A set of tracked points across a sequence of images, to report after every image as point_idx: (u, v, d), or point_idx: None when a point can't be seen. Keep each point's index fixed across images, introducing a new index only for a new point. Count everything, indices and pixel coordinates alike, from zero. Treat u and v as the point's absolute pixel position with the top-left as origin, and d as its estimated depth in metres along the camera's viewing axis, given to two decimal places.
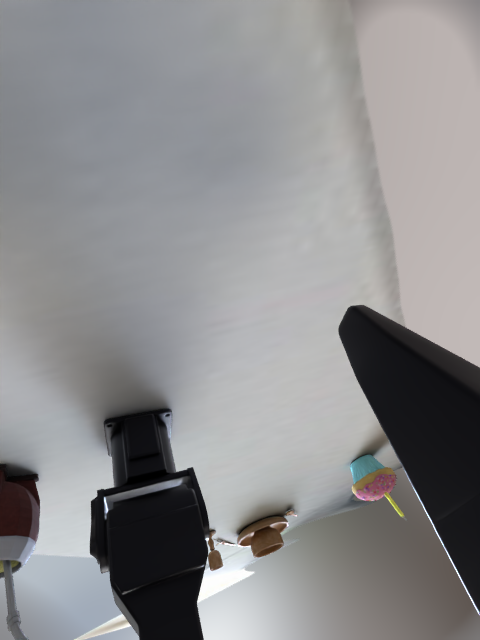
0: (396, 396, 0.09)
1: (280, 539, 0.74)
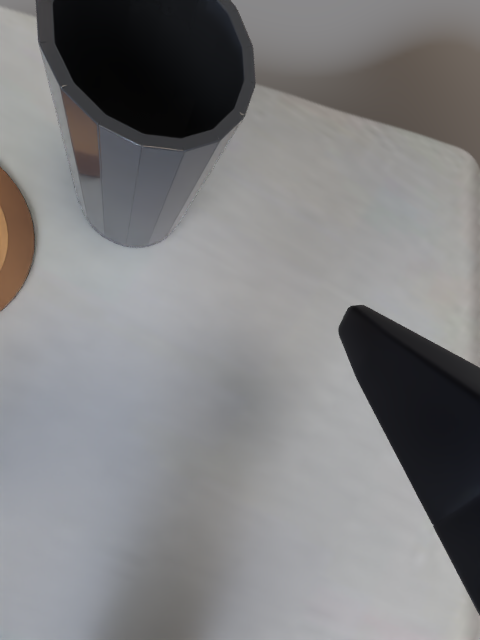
0: (396, 396, 0.09)
1: None
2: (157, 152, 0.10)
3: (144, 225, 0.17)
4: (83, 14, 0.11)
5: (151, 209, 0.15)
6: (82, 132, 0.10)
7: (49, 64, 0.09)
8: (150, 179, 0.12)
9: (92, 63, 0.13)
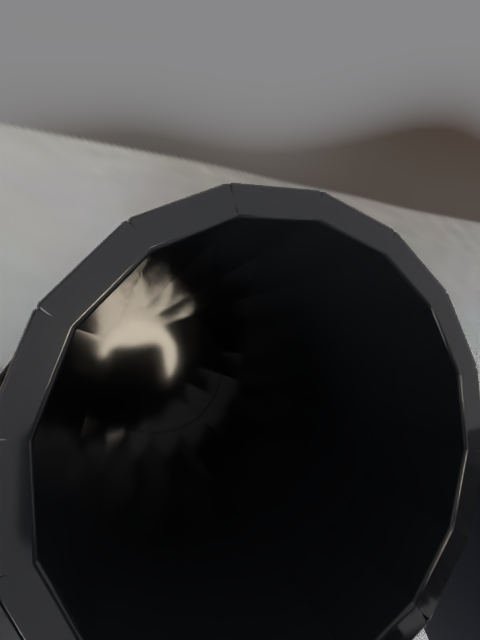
0: None
1: None
2: None
3: None
4: (108, 311, 0.05)
5: None
6: None
7: None
8: None
9: (116, 311, 0.07)
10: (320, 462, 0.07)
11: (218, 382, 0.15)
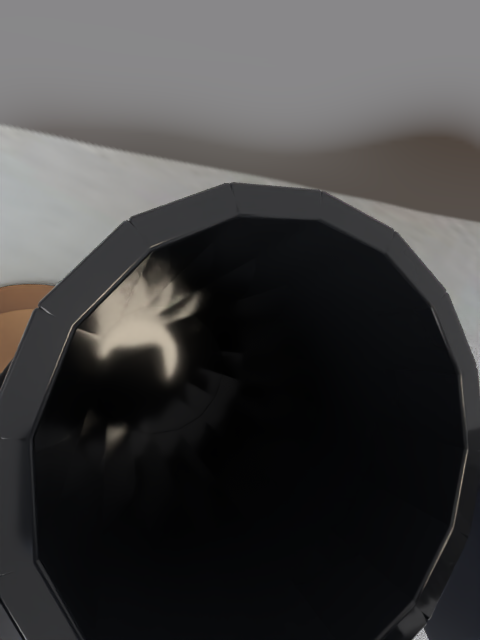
0: None
1: None
2: None
3: None
4: (107, 311, 0.05)
5: None
6: None
7: None
8: None
9: (117, 311, 0.07)
10: (320, 462, 0.07)
11: (218, 382, 0.15)
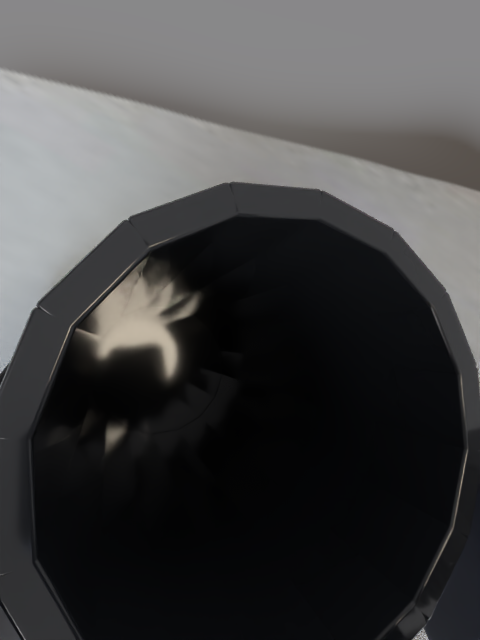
0: None
1: None
2: None
3: None
4: (107, 310, 0.05)
5: None
6: None
7: None
8: None
9: (116, 311, 0.07)
10: (320, 462, 0.07)
11: (218, 382, 0.15)
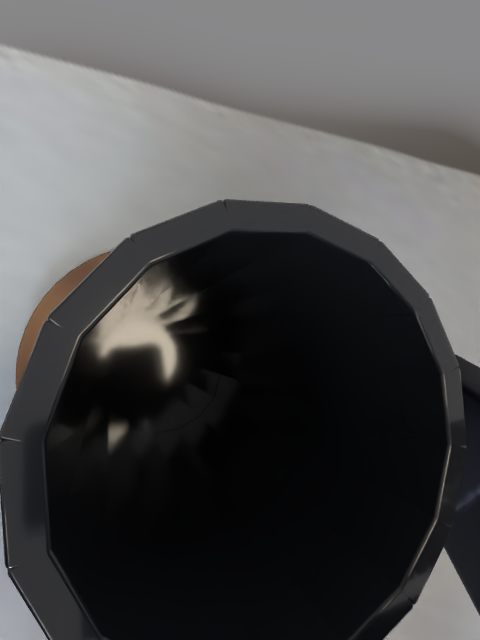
0: None
1: None
2: None
3: None
4: (109, 318, 0.05)
5: None
6: None
7: None
8: None
9: (118, 316, 0.07)
10: (315, 458, 0.08)
11: (217, 381, 0.16)
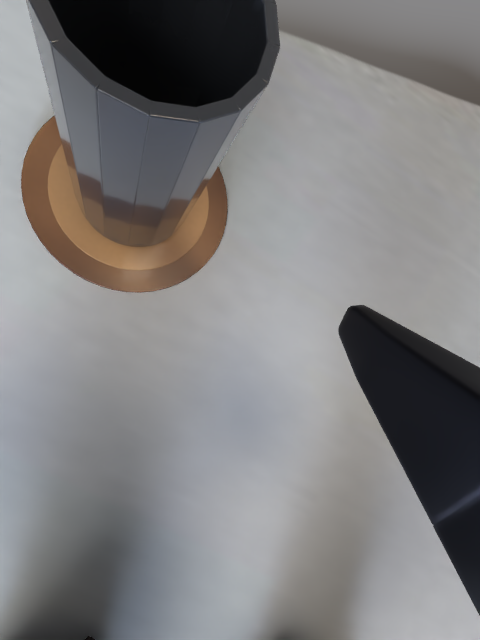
0: (396, 396, 0.09)
1: None
2: (168, 123, 0.08)
3: (148, 220, 0.15)
4: None
5: (157, 200, 0.13)
6: (78, 103, 0.09)
7: (36, 14, 0.07)
8: (157, 161, 0.10)
9: (89, 34, 0.11)
10: None
11: None
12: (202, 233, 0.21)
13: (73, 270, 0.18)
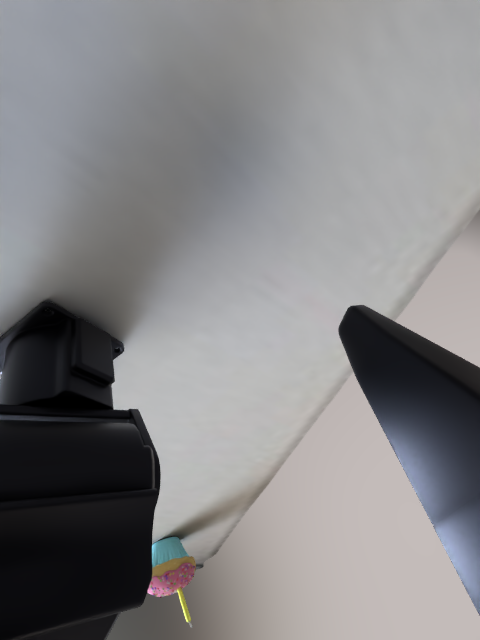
0: (396, 396, 0.09)
1: None
2: None
3: None
4: None
5: None
6: None
7: None
8: None
9: None
10: None
11: None
12: None
13: None
